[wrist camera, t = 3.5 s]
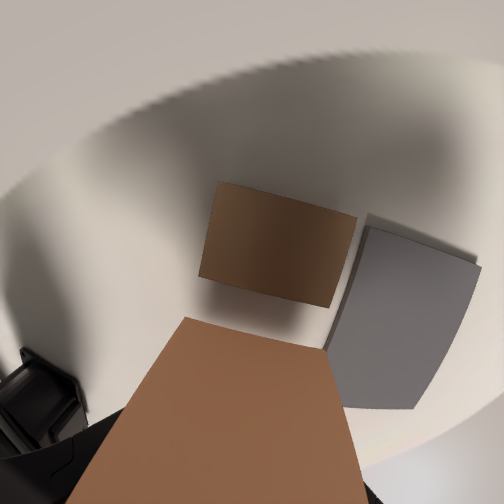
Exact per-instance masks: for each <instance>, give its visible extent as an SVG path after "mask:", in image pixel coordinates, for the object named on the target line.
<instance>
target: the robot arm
mask: <svg viewBox="0 0 504 504" xmlns="http://www.w3.org/2000/svg"><path fill="white" fill-rule="evenodd" d="M20 355H21V359H22V363H23V365H21V366H20V367H19V368H18V369H16V370H15V371H14V372H13V373H11V374H10V375H9V376H8V377H7V378H5V379H4V380H3V381H2V382H0V504H65V503H66V502H67V500H68V498H69V497H70V495H71V493H72V492H73V490H74V488H75V487H76V485H77V483H78V482H79V480H80V478H81V477H82V475H83V473H84V472H85V470H86V469H87V467H88V465H89V464H90V462H91V460H92V459H93V457H94V456H95V454H96V452H97V451H98V449H99V448H100V446H101V444H102V443H103V441H104V440H105V438H106V436H107V435H108V433H109V432H110V430H111V429H112V427H113V425H114V424H115V422H116V421H117V419H118V418H119V416H120V414H121V413H122V411H123V410H124V408H125V407H124V408H123V409H121V410H119V411H117V412H115V413H114V414H112V415H110V416H108V417H106V418H105V419H103V420H101V421H99V422H97V423H95V424H93V425H92V426H90V427H88V426H87V422H86V418H85V414H84V410H83V405H82V401H81V396H80V391H79V386H78V382H77V381H76V380H75V379H74V378H73V377H71V376H69V375H68V374H66V373H64V372H62V371H61V370H59V369H57V368H56V367H54V366H52V365H51V364H49V363H48V362H46V361H44V360H43V359H41V358H40V357H38V356H37V355H35V354H34V353H32V352H31V351H29V350H28V349H26V348H25V347H22V348H21V349H20ZM81 430H82V431H81ZM363 482H364V481H363ZM364 486H365V490H366V495H367V499H368V503H369V504H383V503H382V502H381V500H380V499H379V498H376V497H377V496H376V495H375V494H374V493H373V491H372V490H371V489H370V488H369V487H368V486H367V485H366V483H365V482H364Z"/></svg>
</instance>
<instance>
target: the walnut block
mask: <svg viewBox="0 0 504 504" xmlns="http://www.w3.org/2000/svg"><path fill="white" fill-rule="evenodd" d="M356 221H357V218H356V217H353V216H350V215H346V214H343V213H340V212H336V211H333V210H329V209H326V208H323V207H319V206H315V205H312V204H308V203H305V202H301V201H297V200H293V199H290V198H286V197H282V196H278V195H274V194H270V193H266V192H262V191H258V190H254V189H250V188H245V187H241V186H237V185H232V184H228V183H223V182H219V183H218V187H217V191H216V195H215V200H214V204H213V209H212V213H211V218H210V222H209V227H208V231H207V236H206V241H205V246H204V251H203V255H202V260H201V266H200V271H199V276H198V277H202V278H205V279H209V280H213V281H217V282H221V283H224V284H228V285H232V286H236V287H240V288H244V289H248V290H252V291H256V292H260V293H264V294H268V295H272V296H276V297H281V298H285V299H289V300H293V301H298V302H302V303H306V304H311V305H315V306H320V307H324V308H329V307H330V305H331V302H332V299H333V296H334V293H335V290H336V287H337V284H338V281H339V278H340V275H341V272H342V269H343V266H344V263H345V259H346V256H347V253H348V249H349V246H350V243H351V239H352V236H353V232H354V229H355V225H356Z"/></svg>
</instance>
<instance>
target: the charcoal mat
mask: <svg viewBox="0 0 504 504" xmlns="http://www.w3.org/2000/svg"><path fill="white" fill-rule="evenodd" d="M481 268H482V267H480V266H478V265H476V264H473V263H471V262H468V261H466V260H463V259H460V258H458V257H455V256H453V255H450V254H447V253H445V252H442V251H439V250H437V249H434V248H431V247H428V246H426V245H423V244H420V243H417V242H414V241H411V240H408V239H405V238H403V237H400V236H397V235H394V234H391V233H388V232H385V231H381V230H378V229H375V228H372V227H369V226H365V230H364V234H363V237H362V241H361V244H360V247H359V251H358V254H357V257H356V260H355V264H354V267H353V270H352V273H351V276H350V279H349V282H348V285H347V288H346V291H345V294H344V296H343V299H342V302H341V305H340V308H339V310H338V313H337V316H336V318H335V321H334V324H333V326H332V329H331V331H330V334H329V336H328V339H327V341H326V344H325V346H324V348H323V350H325V351H326V354H327V357H328V361H329V364H330V367H331V370H332V373H333V376H334V380H335V383H336V386H337V389H338V393H339V396H340V399H341V403H342V406H343V407H349V408H365V409H414V407H415V406H416V404H417V403H418V401H419V400H420V398H421V397H422V395H423V394H424V392H425V390H426V389H427V387H428V386H429V384H430V382H431V381H432V379H433V377H434V375H435V374H436V372H437V370H438V368H439V367H440V365H441V363H442V361H443V359H444V357H445V356H446V354H447V352H448V350H449V348H450V346H451V344H452V342H453V340H454V338H455V335H456V333H457V331H458V329H459V327H460V325H461V322H462V320H463V318H464V315H465V313H466V310H467V308H468V305H469V303H470V300H471V298H472V295H473V292H474V290H475V287H476V284H477V281H478V278H479V275H480V272H481Z"/></svg>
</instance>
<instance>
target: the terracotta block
mask: <svg viewBox="0 0 504 504" xmlns="http://www.w3.org/2000/svg"><path fill="white" fill-rule="evenodd" d="M65 504H369V503H368V499H367V495H366V490H365V486H364V482H363V479H362V474H361V471H360V467H359V463H358V459H357V455H356V452H355V448H354V444H353V441H352V437H351V434H350V430H349V427H348V423H347V420H346V416H345V413H344V409H343V406H342V403H341V399H340V396H339V393H338V389H337V386H336V383H335V380H334V376H333V373H332V370H331V367H330V364H329V361H328V357H327V354H326V351H325V350H323V349H317V348H312V347H307V346H302V345H297V344H292V343H287V342H282V341H277V340H273V339H268V338H264V337H260V336H256V335H251V334H247V333H243V332H239V331H235V330H231V329H227V328H224V327H220V326H216V325H212V324H209V323H205V322H202V321H198V320H195V319H191V318H188V317H185V318H184V319H183V321H182V322H181V323H180V325H179V326H178V328H177V329H176V331H175V332H174V334H173V335H172V337H171V338H170V340H169V341H168V343H167V344H166V346H165V347H164V349H163V350H162V352H161V353H160V355H159V356H158V358H157V359H156V361H155V362H154V364H153V365H152V367H151V368H150V370H149V371H148V373H147V374H146V376H145V377H144V379H143V381H142V382H141V384H140V385H139V387H138V388H137V390H136V391H135V393H134V394H133V396H132V397H131V399H130V400H129V402H128V404H127V405H126V407H125V408H124V410H123V411H122V413H121V414H120V416H119V418H118V419H117V421H116V422H115V424H114V425H113V427H112V429H111V430H110V432H109V433H108V435H107V436H106V438H105V440H104V441H103V443H102V444H101V446H100V448H99V449H98V451H97V452H96V454H95V456H94V457H93V459H92V460H91V462H90V464H89V465H88V467H87V469H86V470H85V472H84V473H83V475H82V477H81V478H80V480H79V482H78V483H77V485H76V487H75V488H74V490H73V492H72V493H71V495H70V497H69V498H68V500H67V502H66V503H65Z"/></svg>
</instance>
